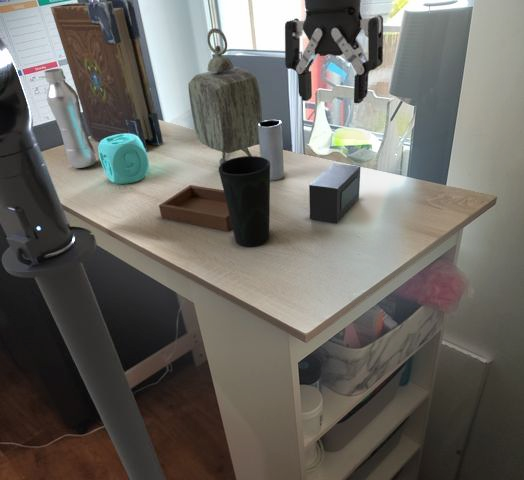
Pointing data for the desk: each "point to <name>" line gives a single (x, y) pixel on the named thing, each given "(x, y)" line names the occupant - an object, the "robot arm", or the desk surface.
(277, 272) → the desk surface
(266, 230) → the cup
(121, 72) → the decorative book
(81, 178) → the desk surface
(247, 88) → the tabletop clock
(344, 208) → the black rectangular box
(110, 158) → the decorative dice
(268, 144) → the grey cylindrical tube
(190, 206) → the wooden tray
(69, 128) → the silver metal bottle
